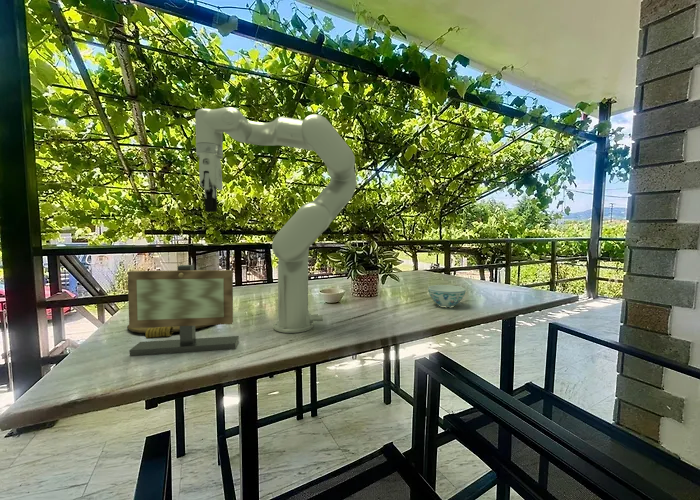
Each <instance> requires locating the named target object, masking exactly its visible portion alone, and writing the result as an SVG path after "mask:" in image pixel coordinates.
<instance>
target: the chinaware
mask: <svg viewBox="0 0 700 500" xmlns="http://www.w3.org/2000/svg"><path fill="white" fill-rule="evenodd" d="M427 291H428V293H429V297H430V298H431V300H432V301H433V302H435V304H437V306H438V305H440V306H446V307H451V306H455V307H456V305H457V304H459V303H461V302H462V301H463V299H464V297H465V296H466V295H465V294H466V291H467V289H466V287H462V286H458V285H451V284H435V285H429V286H427Z"/></svg>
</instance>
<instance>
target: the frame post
mask: <svg viewBox="0 0 700 500" xmlns="http://www.w3.org/2000/svg"><path fill="white" fill-rule="evenodd" d="M194 267H195V266H194V264H181V265H178V266H177V271H179V270H194V269H195V268H194ZM196 335H197V333H196V329H195V326H180V331H179V339H167V340H164V339H163V340H154V341H153V340H151V341H150V340H148V341H139V342H138V343H137V344H135V345H134V346H133V347H131V348H130V349H129V350H128V351H129V353H128V354H129V357H134V356H135V357H136V356H137V357H138V356H149V355H151V356H152V355H167V354H177V353H178V354H181V353H194V352H195V353H196V352H198V353H199V352H209V351H224V350H236V349H237V346H238V344H239V339H240V337H239V336H240V335H235V336H234V335H232V336H230V335H229V336H217V337H214V336H213V337H200V338H198V337H197V336H196Z"/></svg>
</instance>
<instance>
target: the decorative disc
mask: <svg viewBox="0 0 700 500" xmlns="http://www.w3.org/2000/svg"><path fill="white" fill-rule="evenodd" d="M209 326H211V325H196V326H195V330H197V329H201V328H206V327H209ZM127 329H128V330H129V331H130V332H133V333H139V334H145V338H146V339H153V338H154V339H155V338H160V337H171V336H172V335H173V334H174V333H177V332H179V333H180V326H172V327H148V328H129V324H128V325H127Z"/></svg>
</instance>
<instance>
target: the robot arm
mask: <svg viewBox="0 0 700 500" xmlns="http://www.w3.org/2000/svg"><path fill="white" fill-rule="evenodd" d="M194 118H195V120H194V121H195V152H196V153H195V154H196V157H198V158H199V160H198V161H199V162H198V163H199V164H198V167H199V168H198V170H199V171H198V173H199V174H198V175H199V177H198V178H199V184H200V185H199V186H200V187H202V188H203V190H204V211H205V212H206V213H217V212H218V199H217V198H218V197H217V194H218V193H217V191H218V190H219V191H222V190H223V175H222V174H223V172H222V163H221V160H222V159H223V158H224V154H223V153H224V152H223V151H224V149H223V148H224V147H223V146H224V145H223V140H224V139H223V133H224V134H225V135H226V134H227V135H228V136H230V137H231V138H232V139H233V140H234V141H236V142H239V143H244V144H248V145H249V144H250V145H255V146H273V147H274V146H280V147H281V146H283V147H289V148H293V149H294V148H295V149H301V150H309V151H312V152H313V151H314V152H315V153H316V155H317V156H318V158H320V160H322V162H323V163H324V164H325V166H326V168H327V172H328V174H329V176H330V181H329V183H328V184H327V185H326V187H324V188H323V190H321V192H320V193H319V195H317V196H316V197H315V199H314V200H313V201H309V202H306V203H304V204H303V205H302V206H300V207H299V208H298V209H297V211H296V212H295V213H294V214H293V215H292V216H291V217H290V218H289V219H288V221H287V222H286V223H285V224H284V225H282V227H281V228H280V230H278V232H277V233H276V234H275V235H274V237H273V239H272V244H271V247H272V249H271V250H272V252H273V254H274V256H276V257H275V258H277V259H278V262H277V263H278V265H277V309H278V311H277V313H278V314H277V316H278V317H277V318H278V321H276V322H274V323H273V327H272V328H273V329H274V330H275V331H276V332H279V333H283V334H284V333H285V334H287V333H288V334H296V333H301V332H302V333H303V332H306V331H309V330H311V329H312V328H314V322H323V320H324V319H323V314H318V313H317V314H312V313H310V311H309V255H310V254H309V253H310V252H309V251H310V249H309V248H310V247H311V246H312V245H313V244H314V243H315V242H316V240H317V239H318V238H319V237H320V236H322V234H323V232H325V231H326V230H327V229H328V228H329V226H330V225H331V223H332V222H333V220H335V219H336V217H337V216H338V215H339V213H340V212H341V211H342V210H343V209H344V208H345V206H346V205H347V204H348V203H349V202H350V200H351V198H352V197H353V196H354V194H355V191H356V187H357V175H356V171H355V164H356V157H355V155H354V152H353V150H352V149H351V148H350V146H349V145H348V144H347V143H346V140H344V139H343V138H342V137H341V135H340V134H339V133H338V131H337V130H336V129H335V128H334V126H333V125H332V124H331V122H330V121H329V120H328V119H327V118H326V117H325V116H323V115H320V114H317V113H313V114H309V115H307V116H306V117H304V119H299V118H294V117H287V116H278V117H276V118H275V119H274V120H272V121H269V122H261V121H252V120H247V118H246V117H245V116H244V115H243V113H242V112H241V111H240V110H239V109H237V108H236V107H232V106H224V107H221V108H220V107H219V108H214V109H211V108H199V109H197V110H196V111H195V117H194Z"/></svg>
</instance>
